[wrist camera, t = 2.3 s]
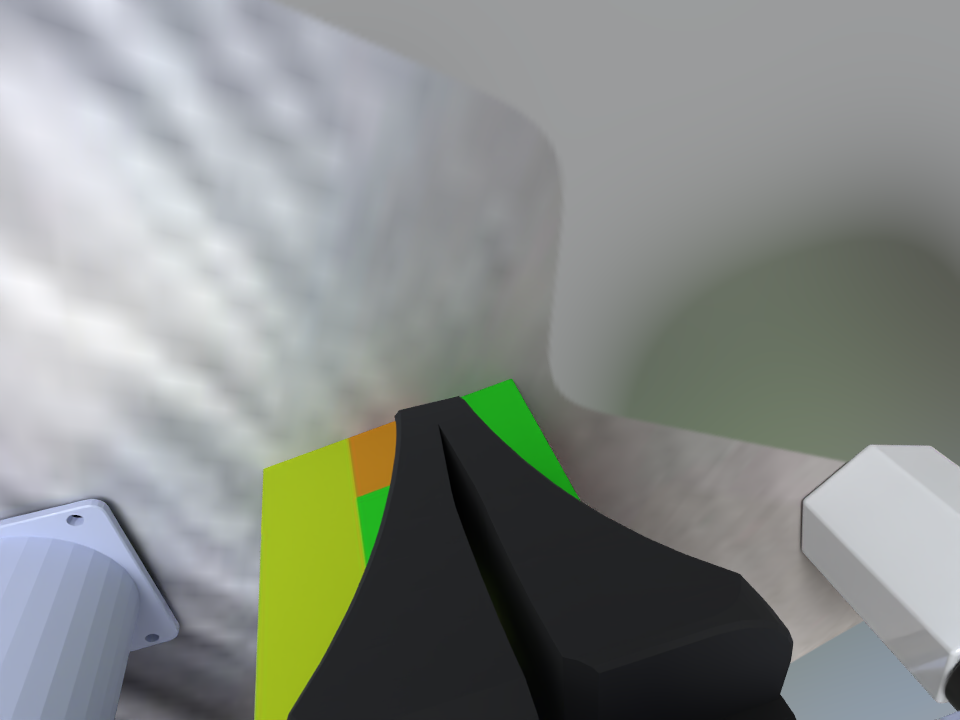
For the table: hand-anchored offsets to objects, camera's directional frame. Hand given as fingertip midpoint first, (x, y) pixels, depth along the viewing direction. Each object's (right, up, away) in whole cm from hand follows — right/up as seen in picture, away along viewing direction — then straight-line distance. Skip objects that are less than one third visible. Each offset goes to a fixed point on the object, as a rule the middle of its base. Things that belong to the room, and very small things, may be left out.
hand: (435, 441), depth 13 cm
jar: (+22, -6, +23) cm, 32 cm away
